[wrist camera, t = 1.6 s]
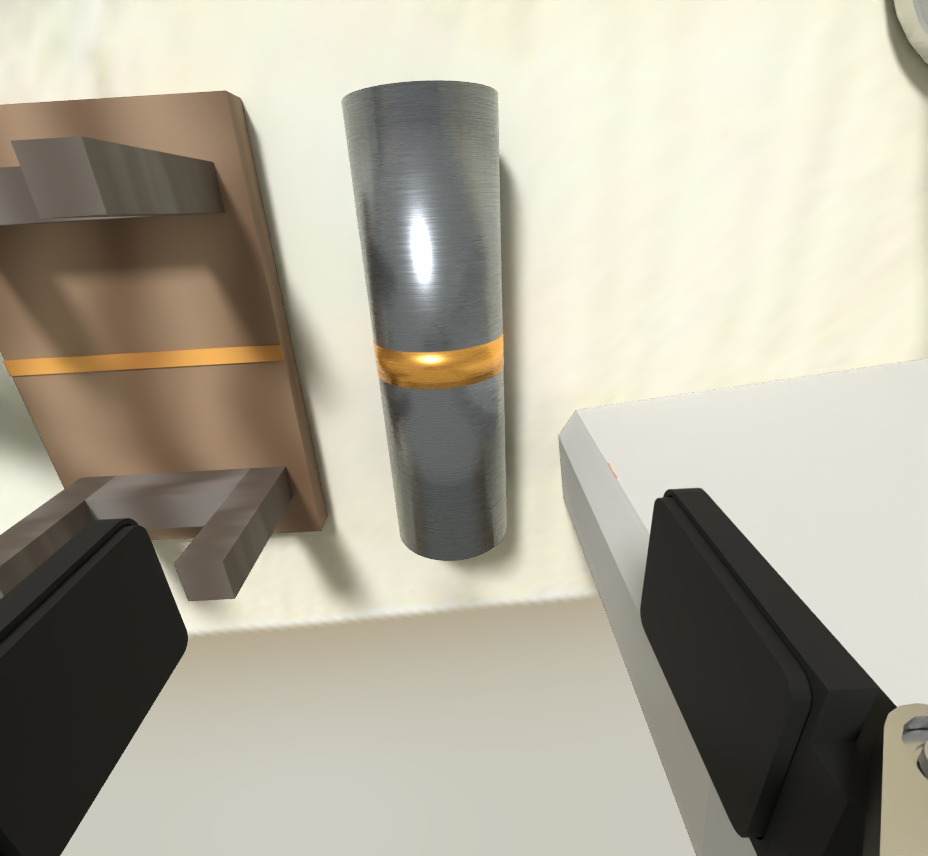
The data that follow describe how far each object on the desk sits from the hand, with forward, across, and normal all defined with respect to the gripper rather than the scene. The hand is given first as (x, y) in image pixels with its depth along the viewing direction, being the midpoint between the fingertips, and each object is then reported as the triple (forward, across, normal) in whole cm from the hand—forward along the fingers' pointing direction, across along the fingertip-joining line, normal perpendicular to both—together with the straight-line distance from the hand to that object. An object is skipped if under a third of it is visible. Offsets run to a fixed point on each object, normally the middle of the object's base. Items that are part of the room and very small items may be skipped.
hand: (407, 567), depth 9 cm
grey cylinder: (+15, 0, 0) cm, 15 cm away
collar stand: (+18, +15, 0) cm, 23 cm away
